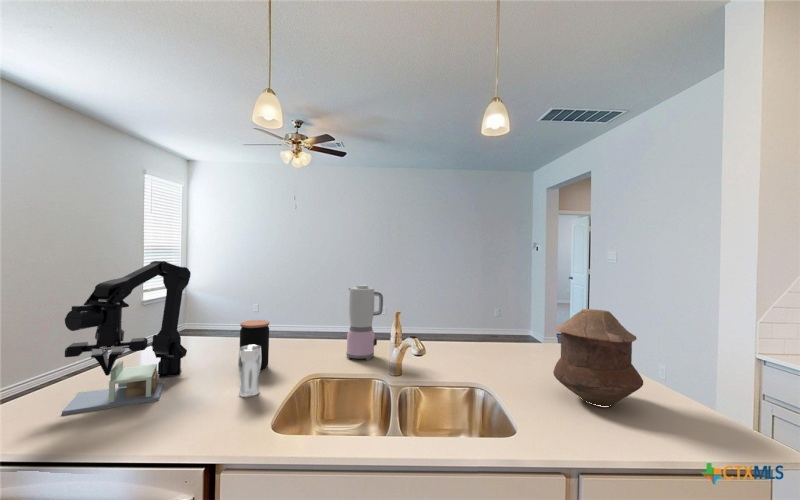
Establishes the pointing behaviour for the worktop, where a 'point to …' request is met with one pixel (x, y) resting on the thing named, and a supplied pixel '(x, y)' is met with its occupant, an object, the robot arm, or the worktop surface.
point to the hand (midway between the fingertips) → (107, 375)
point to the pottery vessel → (597, 358)
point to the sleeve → (141, 387)
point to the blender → (362, 322)
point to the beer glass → (249, 369)
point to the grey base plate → (107, 400)
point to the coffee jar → (256, 337)
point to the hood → (130, 377)
